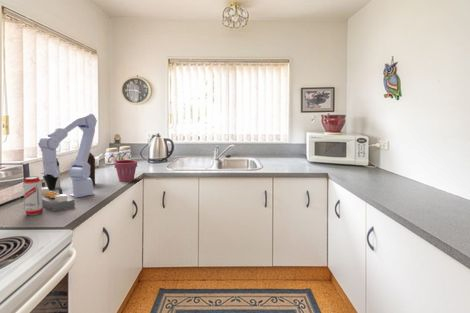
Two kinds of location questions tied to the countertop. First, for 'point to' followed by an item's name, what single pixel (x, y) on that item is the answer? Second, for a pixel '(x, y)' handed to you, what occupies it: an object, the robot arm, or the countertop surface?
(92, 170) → the olive oil
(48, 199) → the power strip
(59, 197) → the right plug
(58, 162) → the travel mug
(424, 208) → the countertop surface
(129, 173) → the plant pot
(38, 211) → the beer can
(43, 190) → the left plug
